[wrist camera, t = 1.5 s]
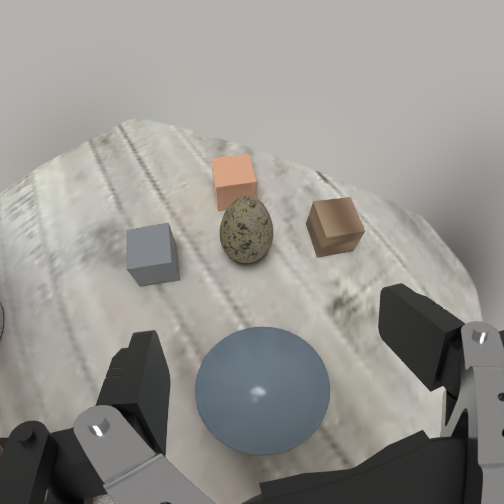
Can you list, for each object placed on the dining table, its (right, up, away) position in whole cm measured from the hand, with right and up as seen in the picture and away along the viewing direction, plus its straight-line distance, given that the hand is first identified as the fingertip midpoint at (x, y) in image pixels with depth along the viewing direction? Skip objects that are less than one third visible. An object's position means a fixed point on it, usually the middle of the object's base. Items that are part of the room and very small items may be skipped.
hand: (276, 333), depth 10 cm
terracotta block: (-3, +11, +32) cm, 34 cm away
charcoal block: (-12, +1, +27) cm, 30 cm away
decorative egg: (-2, +3, +28) cm, 29 cm away
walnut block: (+9, +5, +30) cm, 31 cm away
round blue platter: (0, -12, +20) cm, 24 cm away
